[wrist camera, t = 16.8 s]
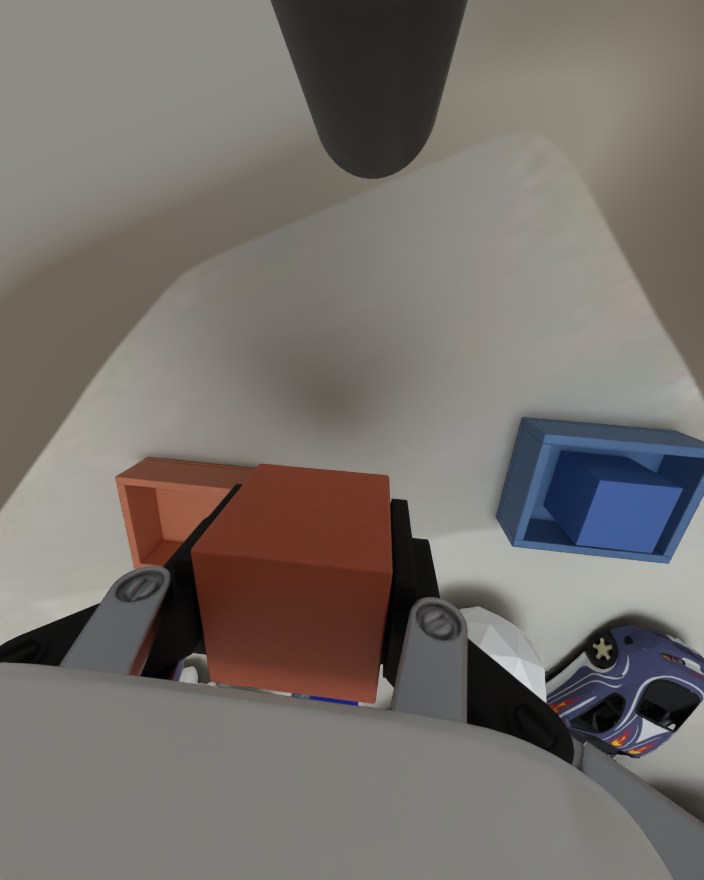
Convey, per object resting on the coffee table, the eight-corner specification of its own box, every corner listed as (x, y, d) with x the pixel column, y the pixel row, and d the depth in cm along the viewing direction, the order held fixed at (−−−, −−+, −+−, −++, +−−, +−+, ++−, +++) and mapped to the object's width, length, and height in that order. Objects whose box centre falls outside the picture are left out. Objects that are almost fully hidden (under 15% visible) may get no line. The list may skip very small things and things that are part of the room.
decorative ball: (546, 587, 31) (606, 769, 22) (440, 604, 35) (454, 759, 27) (514, 541, 26) (575, 748, 17) (398, 568, 31) (399, 740, 22)
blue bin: (522, 417, 23) (545, 433, 20) (676, 430, 22) (727, 450, 19) (495, 517, 26) (512, 546, 22) (632, 532, 25) (669, 564, 22)
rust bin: (147, 457, 27) (114, 476, 23) (271, 469, 26) (255, 491, 23) (161, 540, 29) (133, 568, 26) (273, 553, 29) (259, 584, 26)
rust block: (259, 462, 11) (188, 549, 7) (389, 474, 11) (393, 572, 7) (264, 564, 13) (209, 683, 9) (377, 577, 13) (375, 706, 9)
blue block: (560, 450, 23) (600, 480, 19) (628, 456, 23) (683, 488, 18) (542, 506, 25) (575, 545, 20) (605, 512, 24) (652, 553, 20)
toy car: (489, 719, 34) (506, 784, 29) (628, 603, 27) (679, 663, 23) (552, 748, 34) (579, 816, 30) (702, 643, 28) (766, 708, 23)
